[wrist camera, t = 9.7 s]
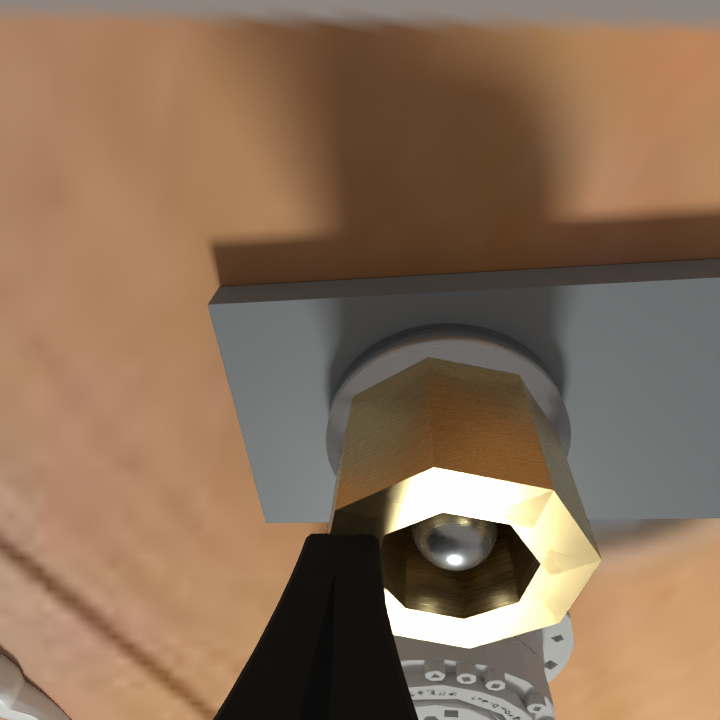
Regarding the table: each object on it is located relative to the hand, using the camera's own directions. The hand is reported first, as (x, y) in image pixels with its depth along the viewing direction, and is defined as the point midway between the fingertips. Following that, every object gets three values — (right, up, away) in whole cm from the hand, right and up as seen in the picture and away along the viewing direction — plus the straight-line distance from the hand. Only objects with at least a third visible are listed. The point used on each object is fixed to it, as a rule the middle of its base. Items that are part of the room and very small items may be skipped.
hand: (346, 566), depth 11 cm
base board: (+7, +3, +4) cm, 9 cm away
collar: (+2, +2, +3) cm, 4 cm away
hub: (+3, +2, +3) cm, 5 cm away
